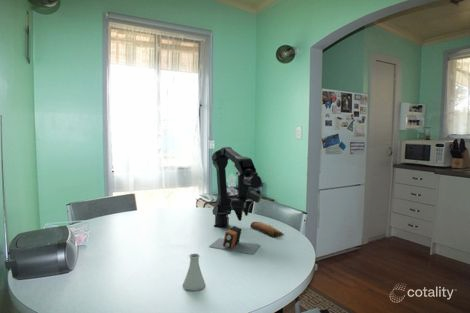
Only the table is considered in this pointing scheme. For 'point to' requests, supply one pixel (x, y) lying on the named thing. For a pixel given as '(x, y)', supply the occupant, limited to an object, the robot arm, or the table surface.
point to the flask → (194, 275)
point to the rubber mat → (236, 246)
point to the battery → (232, 237)
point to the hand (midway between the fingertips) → (243, 218)
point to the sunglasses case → (266, 229)
